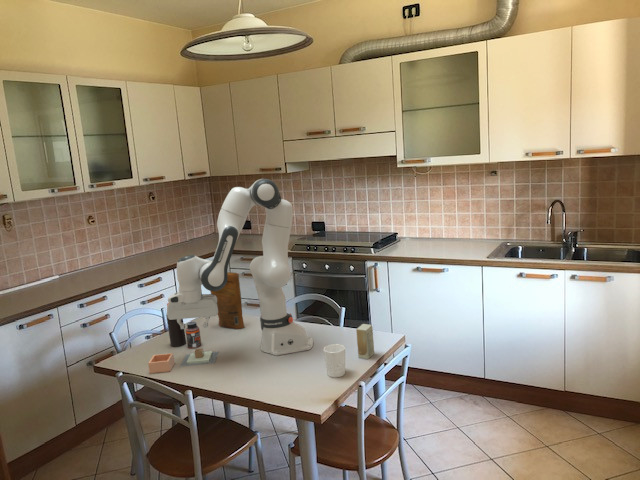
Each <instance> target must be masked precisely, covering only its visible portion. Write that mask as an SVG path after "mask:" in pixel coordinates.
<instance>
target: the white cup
mask: <svg viewBox="0 0 640 480" xmlns="http://www.w3.org/2000/svg"><path fill="white" fill-rule="evenodd" d="M323 355H324V363H325V368H326V374H327V376H328V377H330V378H340V377H344V376H345V375H346V347H345V345H344V344H339V343H334V344H333V343H331V344H327V345H326V346H324V348H323Z"/></svg>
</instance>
